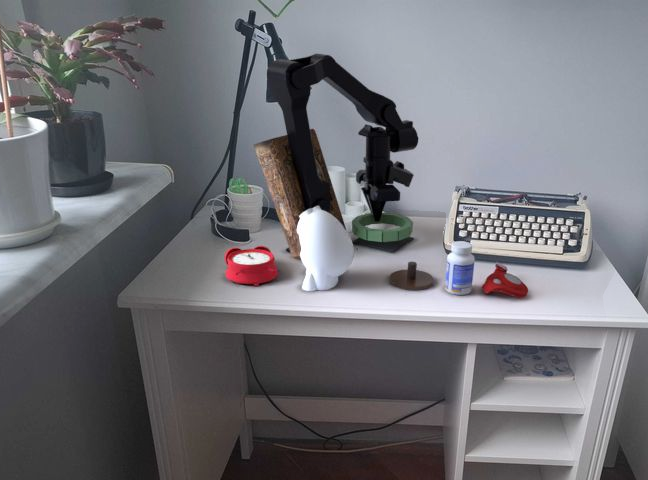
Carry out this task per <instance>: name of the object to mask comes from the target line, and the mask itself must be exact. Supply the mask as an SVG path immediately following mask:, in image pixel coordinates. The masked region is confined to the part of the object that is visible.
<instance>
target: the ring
mask: <svg viewBox="0 0 648 480" xmlns="http://www.w3.org/2000/svg"><path fill="white" fill-rule="evenodd" d="M370 225H393V226H396V228H387V229H380V228H371V227H368V226H370ZM351 232H352V233H353V235H354V236H355V237H356V238H362V239H364V240H368V241H377V242H382V241H383V242H389V241H398V240H402V239H405V238H408V237H411V235H412V234H413V233H414V221H413V220H412V219H411V218H410V216H406V215H403V214H400V213H395V212H386V211H385V212H384V211H383V212H382V215H381V218H380V221H375V219H374V216H373V213H371V212H368V213H363V214H359V215H357V216H355V217H354V218H353V219H352V220H351Z"/></svg>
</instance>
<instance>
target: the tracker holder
mask: <svg viewBox="0 0 648 480" xmlns="http://www.w3.org/2000/svg"><path fill="white" fill-rule="evenodd" d="M494 267H495V269H494V271H493V272H491V274H489V275H488V276H487V277H486V278H485V280H484V283H483V284H482V285H481V286H480V289H481V290H482V291H483V292H484V293H485V294H486V295H489V294H490V293H491V292H500V293H503V294H506V295H509V296H512V297H515V298H519V299H521V298H522V299H523V298H525V297H527V296H528V293H529V287H528V286H527V285H526V283H524V282H523V281H522V279H520V278H518V277H517V276H515V275H514V274H511V273H508V267H507V266H505V265H503V264H501V263H499V262H498V261H496V262H495V265H494Z"/></svg>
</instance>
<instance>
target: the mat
mask: <svg viewBox="0 0 648 480" xmlns="http://www.w3.org/2000/svg"><path fill="white" fill-rule="evenodd" d="M414 238H415V237H412V236H410V237H408V238H405V239H402V240H398V241H389V242H383V241H382V242H377V241H368V240H364V239H362V238H359V237H356V238H355V239H354V240H352V243H353V246H359V247H364V248H368V249H373V250H376V251H377V250H378V251H381V252H387V253H391V254H394V253H396V252H397V251H399V250H400V249H402V248H403V247H405V246H407V245H408V244H409V243H411V242H412V241H414Z"/></svg>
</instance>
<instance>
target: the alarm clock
mask: <svg viewBox="0 0 648 480" xmlns="http://www.w3.org/2000/svg"><path fill="white" fill-rule="evenodd" d="M275 259H276V258H275V256H274V254H273V253H272V251H271V249H270V248H269V247H267V246H264V245H257V246H255V247H254V248H246V249H241V248H239V247H231V248H229V249H228V250H227V251H226V252H225V254H224V262H225V264H226V265H227V268H226V271H225V277H226V279H227V280H229V281H230V282H233V283H236V284H245V285H253V287H260V284H263V283H268V282H271V281H273V280H274V279H275V280H276V278H277V277H278V276H279V270H278V268H277V266H276V263H275Z"/></svg>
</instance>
